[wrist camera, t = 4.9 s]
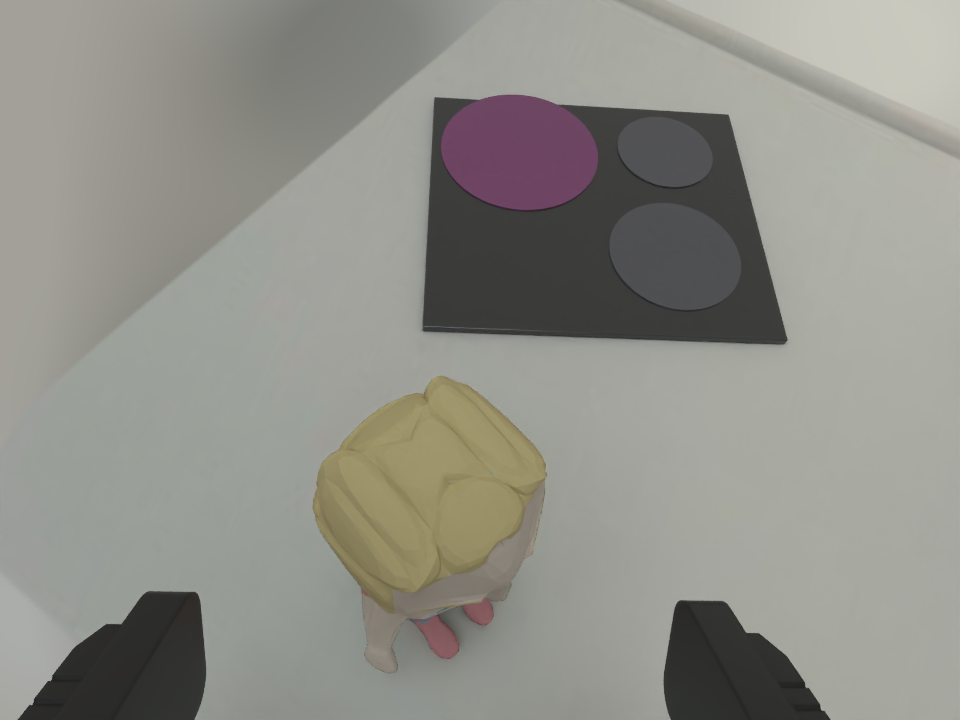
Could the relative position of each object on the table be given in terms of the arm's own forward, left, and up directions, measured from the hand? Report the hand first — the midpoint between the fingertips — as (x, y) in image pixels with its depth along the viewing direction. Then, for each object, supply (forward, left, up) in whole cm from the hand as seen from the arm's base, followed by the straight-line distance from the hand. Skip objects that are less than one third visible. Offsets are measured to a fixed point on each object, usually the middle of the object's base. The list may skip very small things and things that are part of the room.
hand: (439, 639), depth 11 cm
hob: (+8, +23, -15) cm, 28 cm away
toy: (0, +3, -15) cm, 15 cm away
